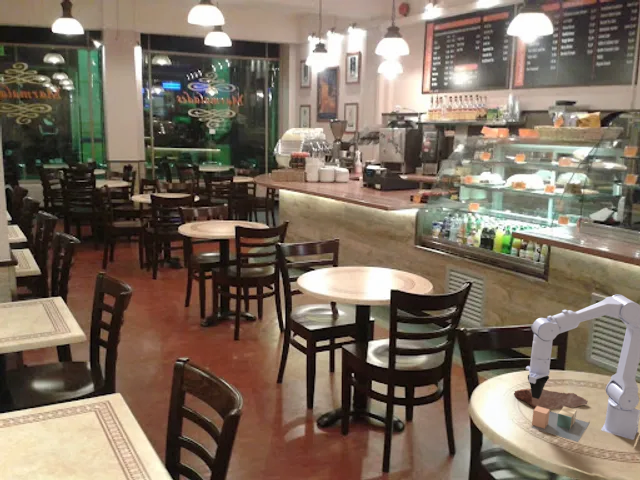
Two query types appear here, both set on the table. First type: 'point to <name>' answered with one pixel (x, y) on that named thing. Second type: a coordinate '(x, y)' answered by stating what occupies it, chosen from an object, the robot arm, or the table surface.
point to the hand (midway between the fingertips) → (535, 397)
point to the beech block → (566, 417)
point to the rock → (550, 399)
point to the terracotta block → (540, 417)
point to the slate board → (570, 434)
